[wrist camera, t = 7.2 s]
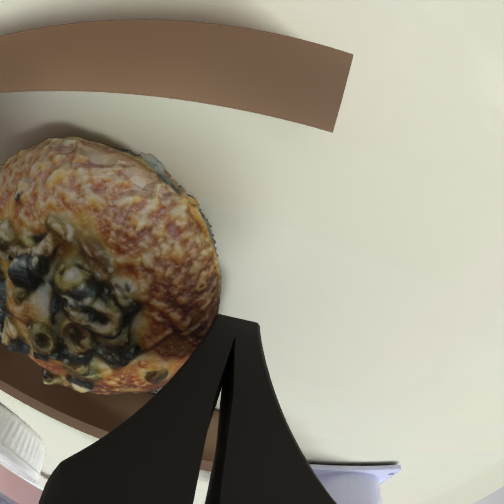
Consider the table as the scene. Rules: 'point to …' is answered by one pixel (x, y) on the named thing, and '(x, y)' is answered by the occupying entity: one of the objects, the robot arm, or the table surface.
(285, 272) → the table surface
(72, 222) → the bread roll
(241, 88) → the roll holder
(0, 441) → the ramekin
